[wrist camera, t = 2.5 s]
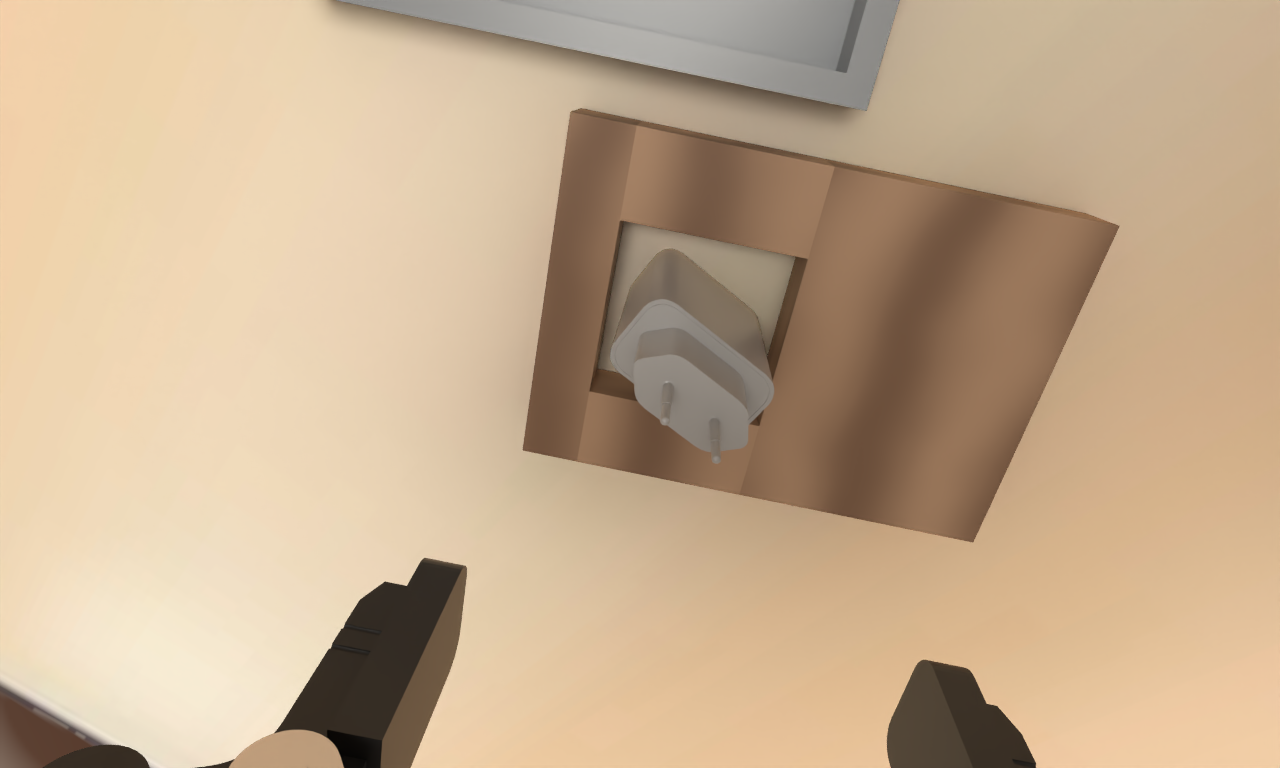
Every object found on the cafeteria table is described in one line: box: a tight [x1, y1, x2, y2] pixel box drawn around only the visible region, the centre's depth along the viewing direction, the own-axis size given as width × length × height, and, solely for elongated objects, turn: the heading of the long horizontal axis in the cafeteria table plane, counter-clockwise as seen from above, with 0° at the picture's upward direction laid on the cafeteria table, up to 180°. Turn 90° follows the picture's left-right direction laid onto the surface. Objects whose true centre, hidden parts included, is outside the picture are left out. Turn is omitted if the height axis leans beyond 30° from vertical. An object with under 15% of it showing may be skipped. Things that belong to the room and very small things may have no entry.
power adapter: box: [610, 249, 774, 464], centre depth 25 cm, size 3×5×12 cm, turn 52°
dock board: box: [523, 108, 1119, 542], centre depth 30 cm, size 20×14×2 cm
